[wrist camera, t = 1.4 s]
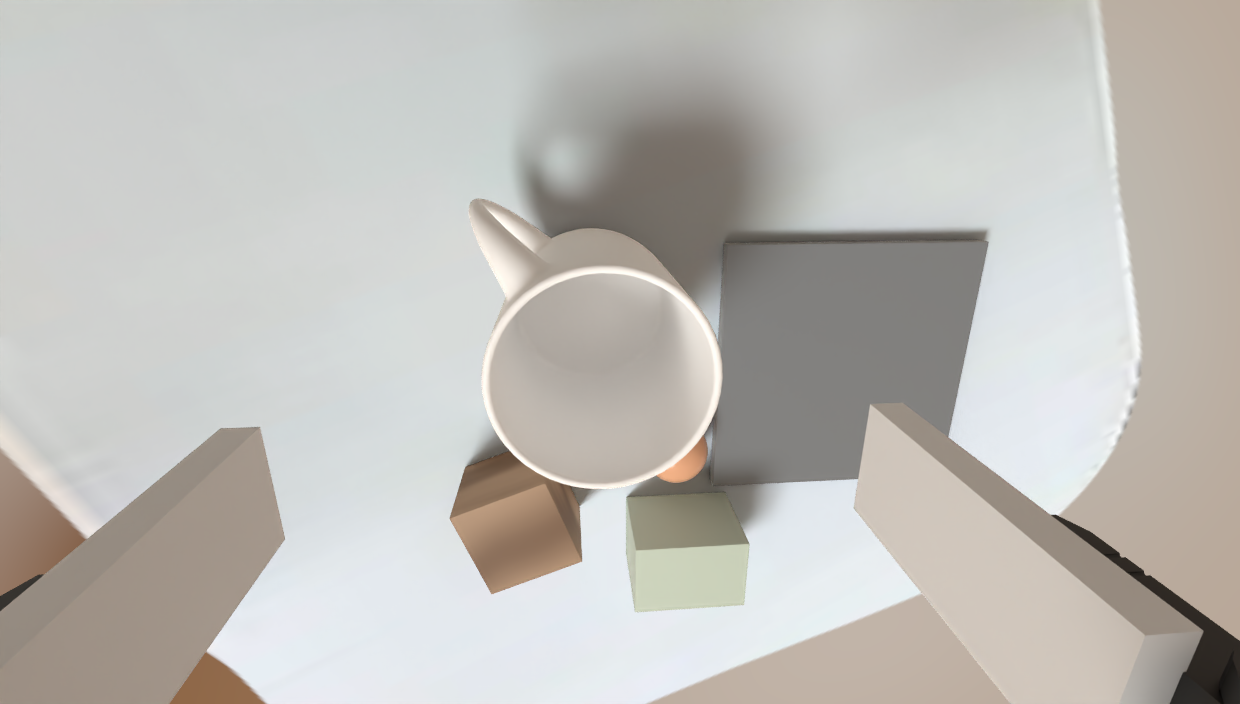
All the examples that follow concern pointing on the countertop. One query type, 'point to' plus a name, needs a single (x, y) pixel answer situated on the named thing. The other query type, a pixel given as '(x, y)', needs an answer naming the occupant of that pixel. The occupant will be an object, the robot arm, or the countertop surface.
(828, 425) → the plate
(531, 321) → the mug
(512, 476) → the walnut block
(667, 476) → the terracotta ball
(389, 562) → the countertop surface
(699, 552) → the sage block
